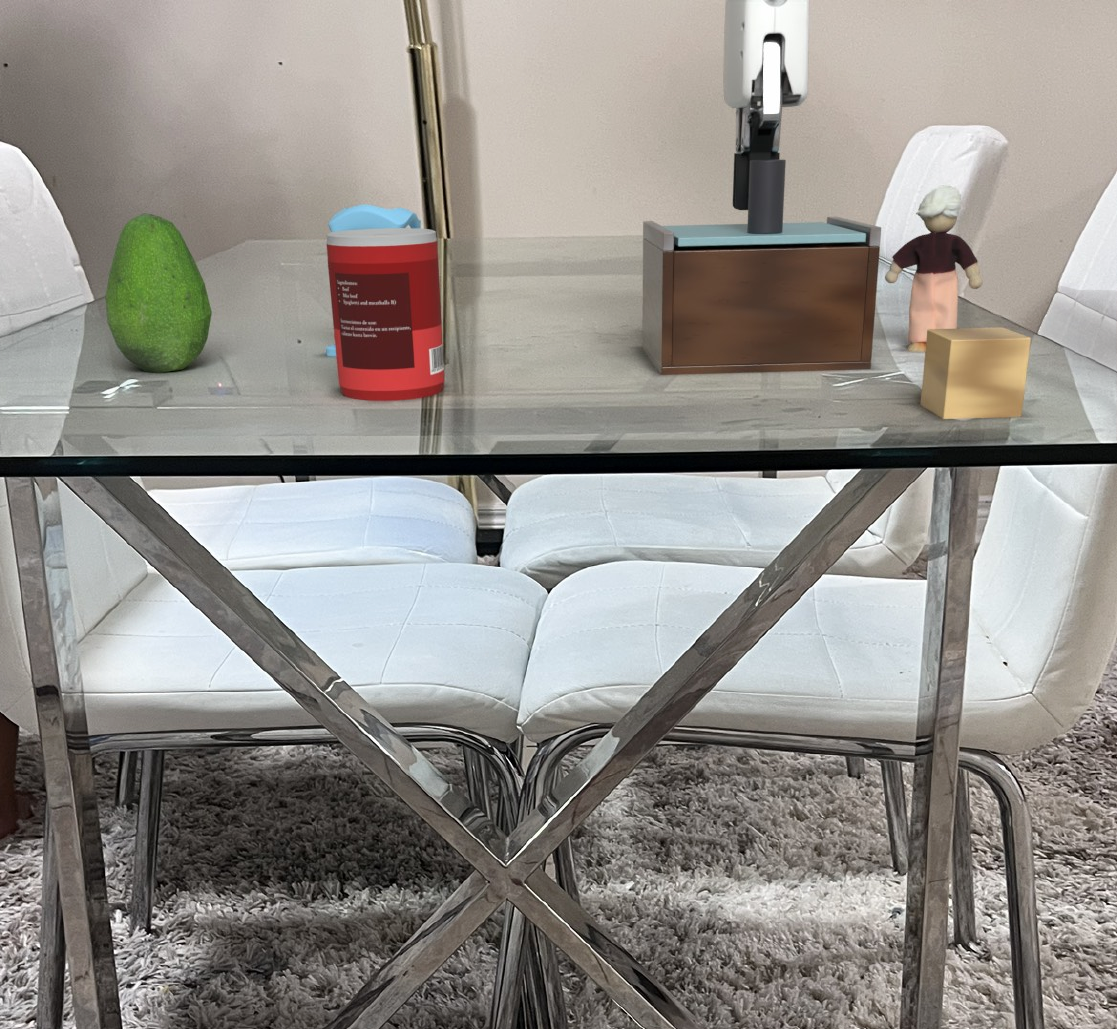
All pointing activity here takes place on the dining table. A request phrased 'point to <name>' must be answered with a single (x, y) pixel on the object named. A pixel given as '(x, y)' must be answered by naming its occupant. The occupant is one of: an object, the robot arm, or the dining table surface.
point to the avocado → (156, 297)
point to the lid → (764, 218)
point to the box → (759, 304)
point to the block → (975, 372)
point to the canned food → (386, 313)
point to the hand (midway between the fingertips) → (754, 208)
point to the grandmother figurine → (935, 267)
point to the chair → (370, 225)
